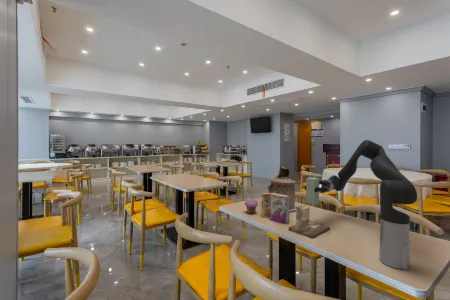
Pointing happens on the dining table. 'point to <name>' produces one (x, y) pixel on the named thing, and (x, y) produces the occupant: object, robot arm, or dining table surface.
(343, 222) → the dining table surface
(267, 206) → the candy box
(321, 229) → the base board
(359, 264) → the dining table surface
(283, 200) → the candy bar box
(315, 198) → the green block
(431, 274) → the dining table surface
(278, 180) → the cookie jar
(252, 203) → the cupcake
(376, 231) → the dining table surface
